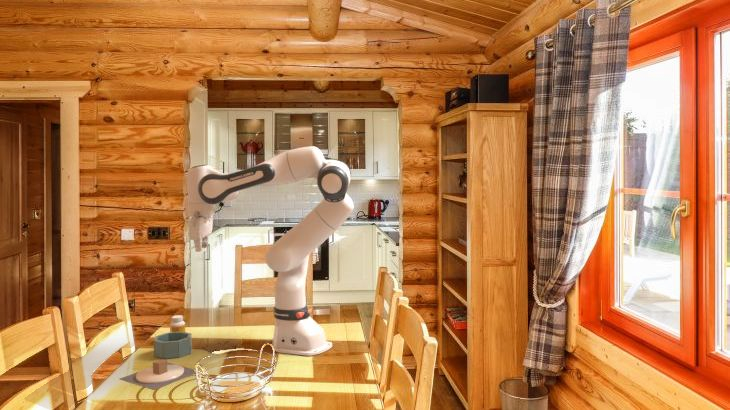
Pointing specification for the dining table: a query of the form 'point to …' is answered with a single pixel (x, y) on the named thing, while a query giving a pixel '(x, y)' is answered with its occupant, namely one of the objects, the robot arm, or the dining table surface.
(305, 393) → the dining table surface
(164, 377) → the lid
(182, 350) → the grey octagonal ring
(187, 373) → the mat
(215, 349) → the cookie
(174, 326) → the supplement bottle
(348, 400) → the dining table surface
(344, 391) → the dining table surface
